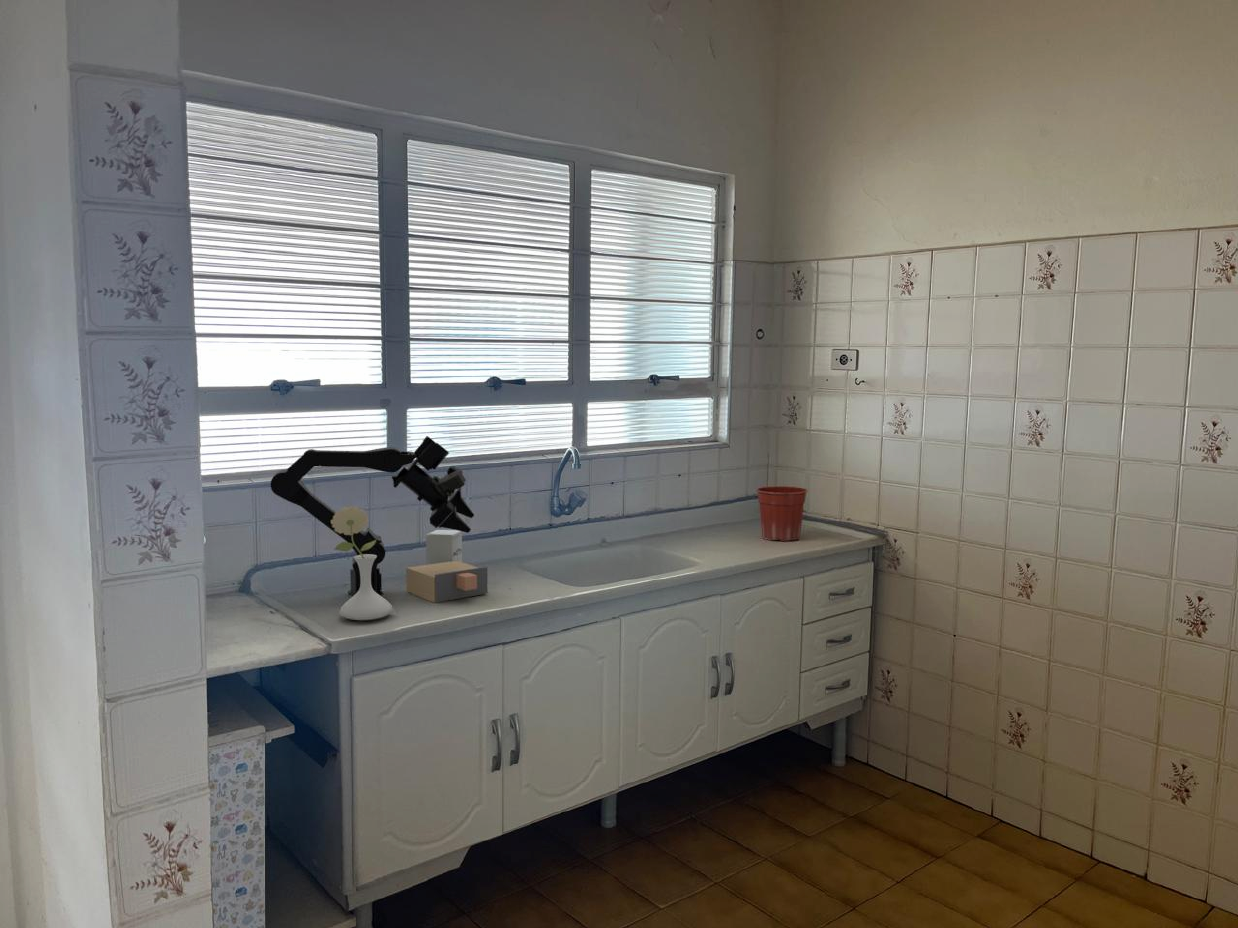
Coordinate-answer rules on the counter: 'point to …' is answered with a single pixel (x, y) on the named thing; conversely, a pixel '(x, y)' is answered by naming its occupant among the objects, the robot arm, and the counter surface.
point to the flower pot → (781, 511)
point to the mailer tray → (450, 584)
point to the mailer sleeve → (431, 577)
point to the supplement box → (443, 546)
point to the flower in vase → (360, 568)
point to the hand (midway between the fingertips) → (471, 523)
